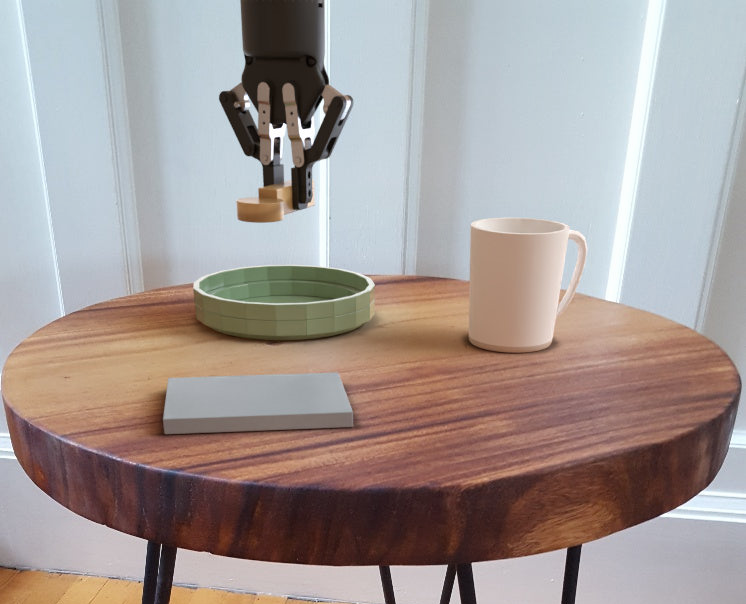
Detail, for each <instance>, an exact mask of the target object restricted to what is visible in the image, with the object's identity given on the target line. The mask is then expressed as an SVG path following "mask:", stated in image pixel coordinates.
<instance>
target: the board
mask: <svg viewBox="0 0 746 604" xmlns="http://www.w3.org/2000/svg"><path fill="white" fill-rule="evenodd" d="M165 392H166V393H165V400H164V407H163V415H162V422H163V423H162V425H163V432H164V435H186V434H188V435H189V434H209V433H211V434H212V433H213V434H214V433H234V432H261V431H263V432H264V431H285V430H286V431H287V430H288V431H289V430H313V429H336V428H337V429H338V428H354V411H353V407H352V405H351V403H350V400H349V397H348V395H347V392H346V389H345V386H344V384H343V380H342V378H341V376H340V373H339V372H337V371H335V372H309V373H308V372H307V373H305V372H304V373H278V374H277V373H275V374H274V373H273V374H247V375H246V374H245V375H218V376H217V375H216V376H213V375H211V376H185V377H184V376H183V377H181V376H180V377H168V378H167V383H166V391H165Z"/></svg>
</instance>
